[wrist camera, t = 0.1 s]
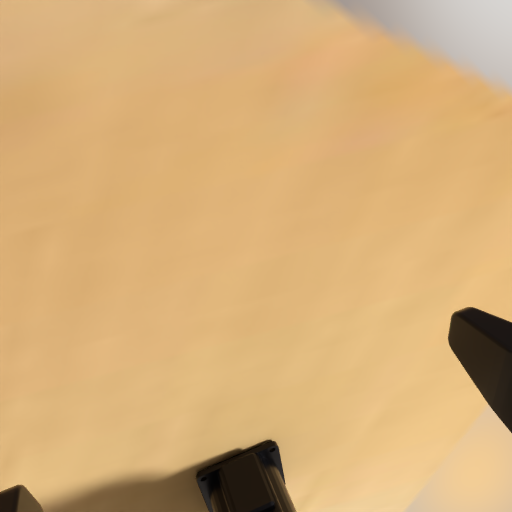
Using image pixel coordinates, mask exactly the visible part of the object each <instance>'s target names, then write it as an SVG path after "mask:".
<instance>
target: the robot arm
mask: <svg viewBox="0 0 512 512" xmlns="http://www.w3.org/2000/svg"><path fill="white" fill-rule="evenodd" d="M448 341H449V345H450V347H451V349H452V351H453V352H454V354H455V355H456V357H457V358H458V360H459V361H460V363H461V364H462V366H463V367H464V369H465V370H466V372H467V373H468V375H469V376H470V378H471V379H472V380H473V382H474V383H475V385H476V386H477V388H478V389H479V391H480V392H481V394H482V395H483V397H484V398H485V400H486V401H487V403H488V404H489V405H490V407H491V408H492V409H493V411H494V412H495V413H496V414H497V416H498V417H499V418H500V419H501V421H502V422H503V423H504V424H505V425H506V427H507V428H508V429H509V430H510V431H511V433H512V322H509V321H507V320H504V319H502V318H499V317H497V316H494V315H492V314H489V313H486V312H484V311H481V310H479V309H476V308H473V307H467V308H464V309H462V310H459V311H456V312H454V313H453V315H452V317H451V322H450V329H449V335H448ZM196 480H197V483H198V485H199V488H200V490H201V493H202V495H203V497H204V500H205V502H206V505H207V507H208V510H209V512H296V510H295V507H294V505H293V503H292V500H291V498H290V496H289V493H288V491H287V489H286V487H285V479H284V474H283V468H282V463H281V458H280V453H279V447H278V445H277V443H276V442H275V441H272V442H269V443H266V444H264V445H261V446H259V447H257V448H254V449H252V450H250V451H247V452H245V453H242V454H240V455H238V456H235V457H233V458H230V459H228V460H226V461H223V462H221V463H219V464H216V465H214V466H211V467H209V468H207V469H204V470H202V471H200V472H198V473H197V474H196ZM0 512H43V509H42V507H41V505H40V504H39V503H38V501H37V500H36V499H35V498H34V497H33V496H32V494H31V493H30V492H29V491H28V490H27V489H26V487H24V486H23V485H16V486H14V487H11V488H9V489H6V490H4V491H1V492H0Z"/></svg>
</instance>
